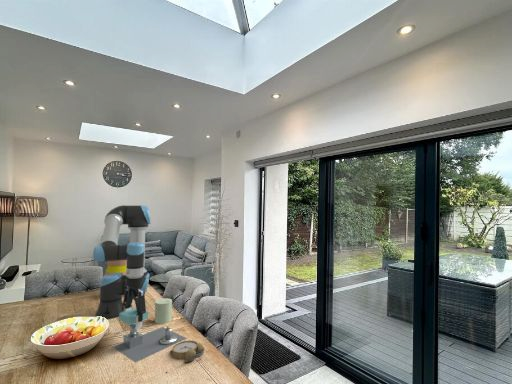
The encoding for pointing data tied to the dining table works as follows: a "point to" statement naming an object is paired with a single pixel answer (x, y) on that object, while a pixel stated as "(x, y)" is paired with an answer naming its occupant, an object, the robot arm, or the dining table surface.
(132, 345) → the stand
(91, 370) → the dining table surface
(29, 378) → the dining table surface
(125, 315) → the teal square collar
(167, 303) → the can
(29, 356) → the dining table surface
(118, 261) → the vase
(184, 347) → the alarm clock
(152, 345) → the mat
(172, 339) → the bell
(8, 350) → the dining table surface
